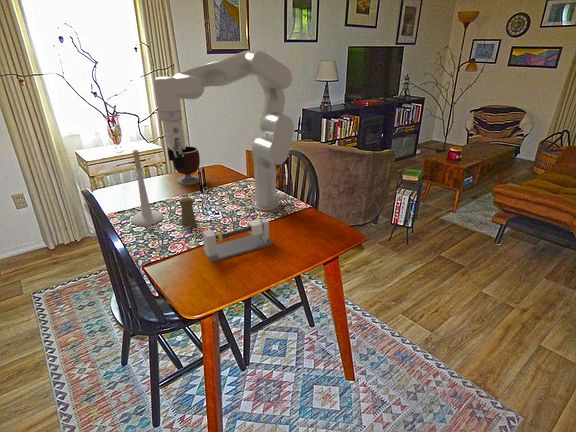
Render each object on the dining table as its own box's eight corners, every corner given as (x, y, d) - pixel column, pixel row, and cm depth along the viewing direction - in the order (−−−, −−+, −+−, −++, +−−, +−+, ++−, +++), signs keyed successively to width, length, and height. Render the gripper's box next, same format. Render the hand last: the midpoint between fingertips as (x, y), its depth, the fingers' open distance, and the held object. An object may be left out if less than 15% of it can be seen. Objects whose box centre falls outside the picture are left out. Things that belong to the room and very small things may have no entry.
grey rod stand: (261, 234, 139) (261, 214, 135) (272, 244, 132) (272, 223, 128) (202, 250, 128) (200, 228, 124) (211, 262, 121) (209, 240, 117)
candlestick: (129, 215, 151) (115, 147, 138) (160, 210, 157) (149, 143, 144) (133, 228, 141) (119, 155, 128) (166, 221, 147) (155, 151, 134)
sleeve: (257, 228, 134) (257, 219, 132) (262, 233, 131) (262, 223, 129) (247, 231, 132) (247, 221, 130) (252, 235, 129) (252, 226, 127)
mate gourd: (183, 174, 198) (179, 139, 189) (206, 177, 195) (203, 141, 186) (168, 184, 185) (163, 147, 176) (192, 187, 182) (188, 149, 173)
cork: (192, 226, 143) (189, 202, 139) (178, 225, 144) (175, 200, 140) (198, 220, 149) (196, 196, 144) (185, 218, 150) (182, 195, 145)
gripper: (188, 119, 115) (193, 169, 123) (175, 110, 129) (181, 156, 136) (164, 121, 112) (172, 172, 119) (154, 112, 125) (161, 158, 133)
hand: (176, 163), depth 128 cm, fingers open, 9 cm apart
